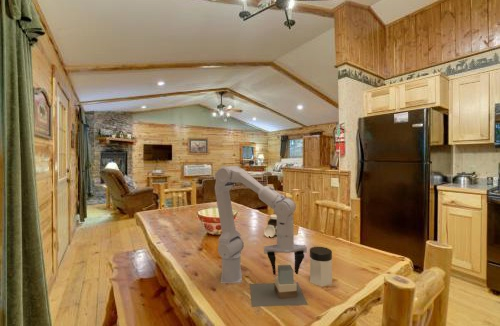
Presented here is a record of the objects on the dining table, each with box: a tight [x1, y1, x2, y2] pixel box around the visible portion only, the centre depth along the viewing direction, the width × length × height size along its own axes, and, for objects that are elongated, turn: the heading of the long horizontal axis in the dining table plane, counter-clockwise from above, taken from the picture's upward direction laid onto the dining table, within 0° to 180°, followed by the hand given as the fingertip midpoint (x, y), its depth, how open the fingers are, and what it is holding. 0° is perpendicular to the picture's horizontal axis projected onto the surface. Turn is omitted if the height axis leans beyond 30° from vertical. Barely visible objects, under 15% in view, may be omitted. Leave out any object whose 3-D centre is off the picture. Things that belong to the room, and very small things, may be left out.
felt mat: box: [249, 281, 309, 308], centre depth 85 cm, size 14×18×1 cm
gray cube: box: [277, 264, 294, 284], centre depth 85 cm, size 4×4×4 cm
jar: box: [309, 246, 333, 288], centre depth 94 cm, size 9×8×12 cm
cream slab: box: [274, 276, 297, 292], centre depth 86 cm, size 6×6×2 cm
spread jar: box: [263, 213, 277, 238], centre depth 150 cm, size 12×11×12 cm
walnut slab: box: [274, 284, 297, 299], centre depth 86 cm, size 6×6×2 cm
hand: (285, 273), depth 85 cm, fingers open, 7 cm apart
